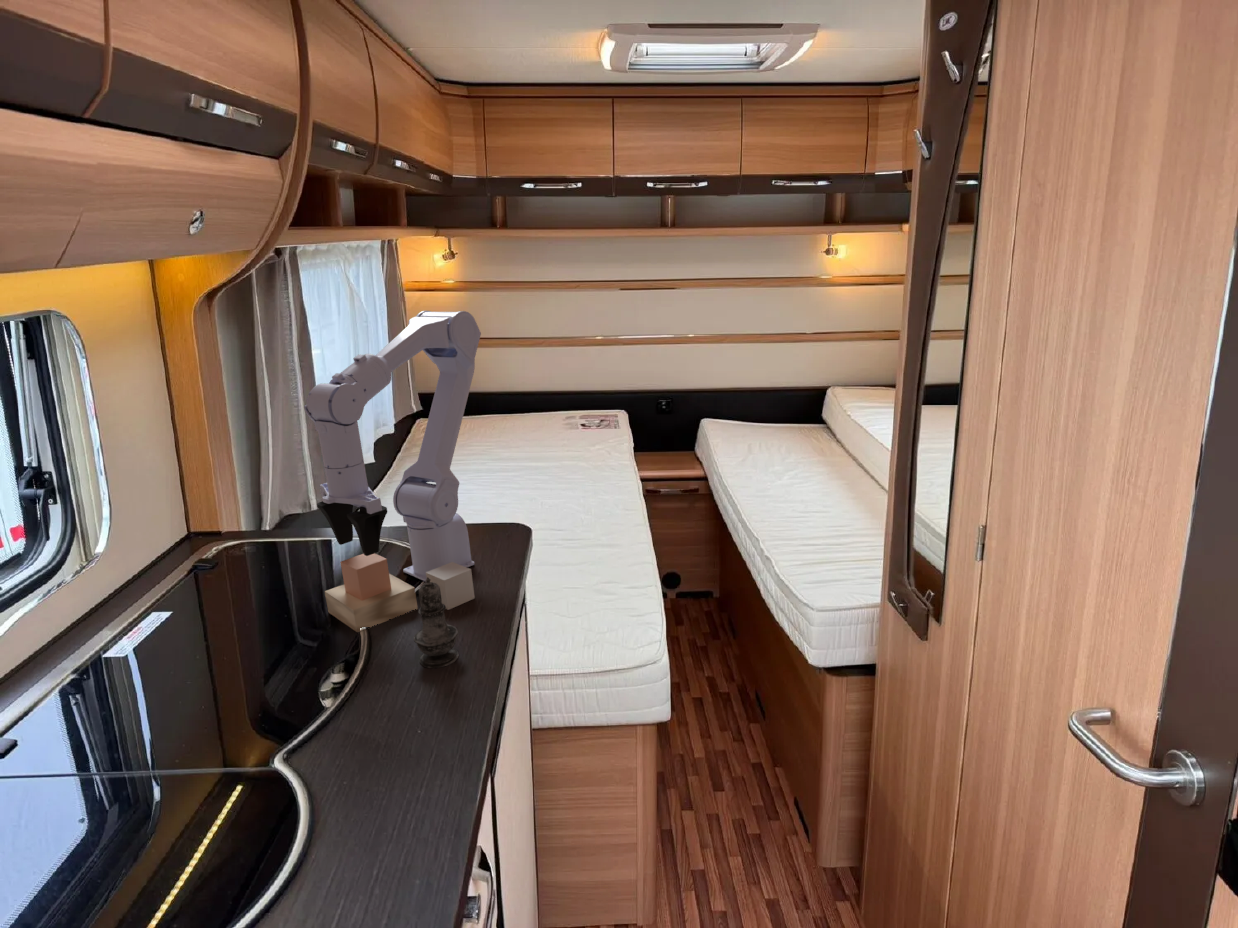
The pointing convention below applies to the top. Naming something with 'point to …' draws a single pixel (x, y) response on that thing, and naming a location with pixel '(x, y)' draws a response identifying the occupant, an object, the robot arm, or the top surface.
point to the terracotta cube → (366, 575)
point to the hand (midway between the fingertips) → (358, 547)
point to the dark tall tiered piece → (435, 629)
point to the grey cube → (453, 584)
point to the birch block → (371, 605)
